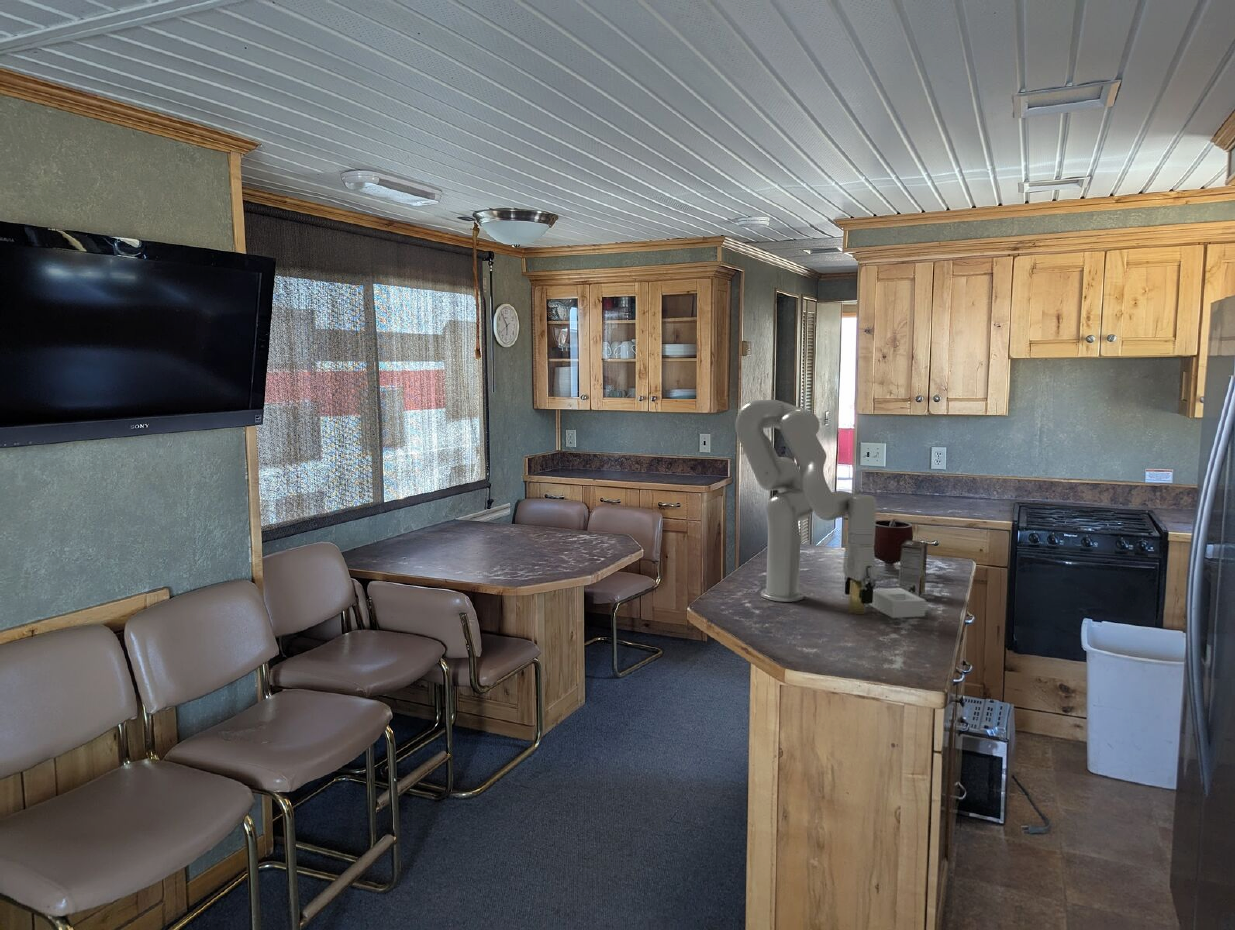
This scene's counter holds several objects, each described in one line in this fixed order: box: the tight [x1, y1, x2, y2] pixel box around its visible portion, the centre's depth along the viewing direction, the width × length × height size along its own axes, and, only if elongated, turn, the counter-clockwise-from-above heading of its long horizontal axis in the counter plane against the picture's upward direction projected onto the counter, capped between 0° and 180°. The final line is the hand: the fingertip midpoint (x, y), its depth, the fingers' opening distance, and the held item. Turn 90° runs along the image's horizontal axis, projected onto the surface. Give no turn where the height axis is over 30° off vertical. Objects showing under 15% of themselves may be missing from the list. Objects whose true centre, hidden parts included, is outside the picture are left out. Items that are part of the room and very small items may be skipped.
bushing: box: [848, 579, 868, 615], centre depth 235 cm, size 4×4×9 cm
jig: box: [868, 587, 927, 619], centre depth 237 cm, size 13×10×4 cm
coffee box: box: [898, 540, 928, 598], centre depth 252 cm, size 9×6×16 cm
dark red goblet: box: [874, 519, 914, 579], centre depth 278 cm, size 16×14×20 cm
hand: (858, 598), depth 235 cm, fingers open, 9 cm apart
